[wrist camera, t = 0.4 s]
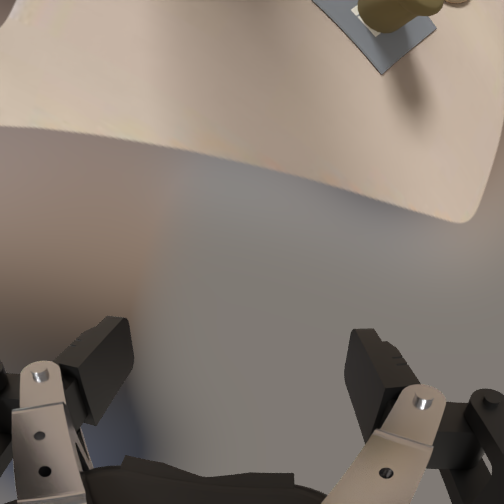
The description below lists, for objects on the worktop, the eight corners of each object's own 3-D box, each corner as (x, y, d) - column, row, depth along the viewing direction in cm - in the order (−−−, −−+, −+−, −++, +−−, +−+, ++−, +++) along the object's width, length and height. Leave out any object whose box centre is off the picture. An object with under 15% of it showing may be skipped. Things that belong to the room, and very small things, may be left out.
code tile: (311, 0, 27) (312, -1, 27) (374, -42, 24) (375, -42, 24) (381, 74, 31) (381, 74, 31) (436, 28, 28) (436, 28, 28)
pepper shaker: (408, 10, 27) (459, -8, 17) (390, 42, 29) (442, 29, 19) (369, -18, 26) (412, -48, 16) (349, 13, 28) (390, -13, 18)
